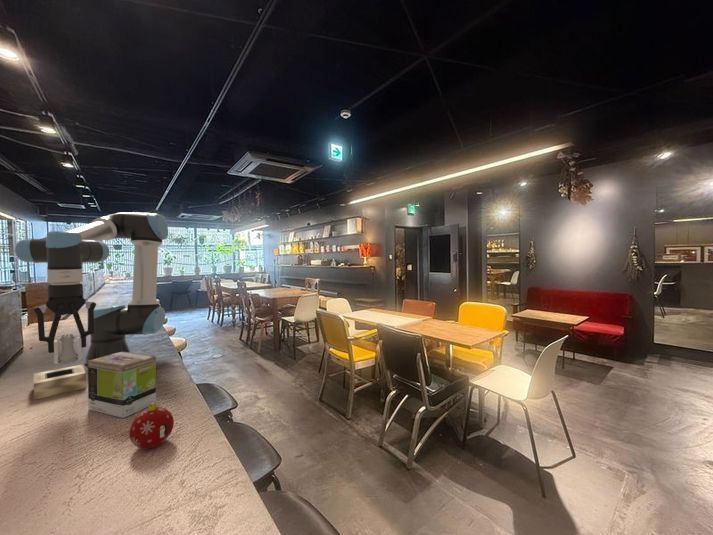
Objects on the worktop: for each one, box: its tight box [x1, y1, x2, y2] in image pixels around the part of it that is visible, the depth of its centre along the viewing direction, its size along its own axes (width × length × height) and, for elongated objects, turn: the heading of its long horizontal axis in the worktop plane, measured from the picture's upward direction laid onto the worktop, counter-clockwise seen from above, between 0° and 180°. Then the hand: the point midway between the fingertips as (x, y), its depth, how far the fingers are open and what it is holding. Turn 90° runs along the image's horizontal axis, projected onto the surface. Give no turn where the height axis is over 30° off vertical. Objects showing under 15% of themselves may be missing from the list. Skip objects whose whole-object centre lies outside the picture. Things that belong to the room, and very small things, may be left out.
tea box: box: [87, 351, 157, 419], centre depth 88 cm, size 15×10×15 cm
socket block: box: [33, 364, 87, 400], centre depth 100 cm, size 12×12×5 cm
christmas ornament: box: [129, 403, 175, 450], centre depth 70 cm, size 9×9×10 cm
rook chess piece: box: [58, 333, 78, 365], centre depth 90 cm, size 4×4×8 cm
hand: (68, 360), depth 90 cm, fingers closed on rook chess piece, 4 cm apart
